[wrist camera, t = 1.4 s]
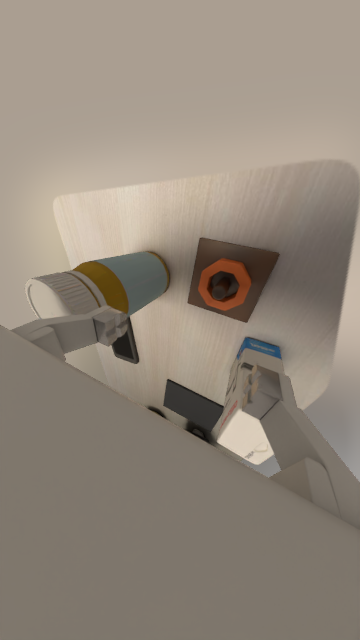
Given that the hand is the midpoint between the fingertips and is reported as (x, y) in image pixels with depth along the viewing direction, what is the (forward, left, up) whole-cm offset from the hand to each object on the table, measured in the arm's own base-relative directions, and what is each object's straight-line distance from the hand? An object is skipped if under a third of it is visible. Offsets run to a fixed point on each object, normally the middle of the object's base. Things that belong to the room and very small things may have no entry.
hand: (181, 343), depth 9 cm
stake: (0, 0, -14) cm, 14 cm away
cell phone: (+19, +19, -14) cm, 30 cm away
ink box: (-8, +11, -15) cm, 20 cm away
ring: (0, 0, -14) cm, 14 cm away
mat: (-1, +32, -14) cm, 35 cm away
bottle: (+11, +2, -14) cm, 18 cm away
